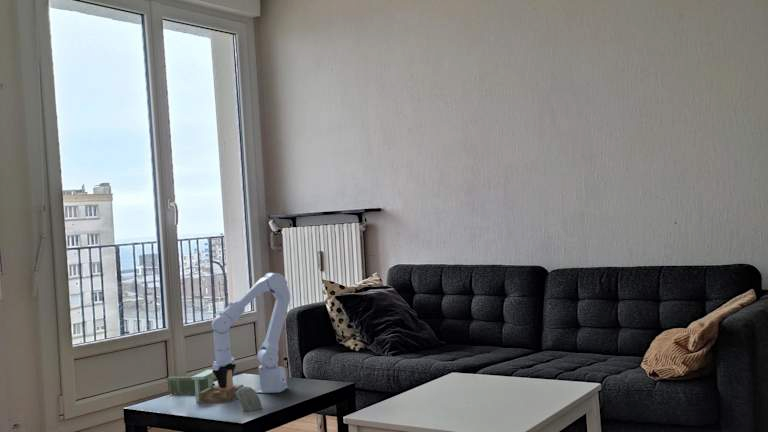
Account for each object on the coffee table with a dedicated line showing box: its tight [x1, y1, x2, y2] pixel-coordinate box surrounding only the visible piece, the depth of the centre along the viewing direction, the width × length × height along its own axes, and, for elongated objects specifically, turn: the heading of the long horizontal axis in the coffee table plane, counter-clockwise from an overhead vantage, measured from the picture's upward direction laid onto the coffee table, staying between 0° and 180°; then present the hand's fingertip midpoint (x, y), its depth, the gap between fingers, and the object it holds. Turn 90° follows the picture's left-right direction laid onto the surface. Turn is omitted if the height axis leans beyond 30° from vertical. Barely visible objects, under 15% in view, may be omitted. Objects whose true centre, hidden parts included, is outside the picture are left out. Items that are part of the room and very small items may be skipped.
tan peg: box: [217, 370, 234, 391], centre depth 291 cm, size 4×4×8 cm
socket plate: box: [198, 384, 244, 404], centre depth 292 cm, size 12×12×4 cm
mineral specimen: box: [235, 386, 263, 412], centre depth 270 cm, size 7×9×8 cm
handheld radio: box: [166, 375, 216, 395], centre depth 305 cm, size 7×3×25 cm
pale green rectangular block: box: [191, 368, 215, 404], centre depth 293 cm, size 5×13×10 cm, turn 165°
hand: (225, 386), depth 291 cm, fingers closed on tan peg, 4 cm apart
